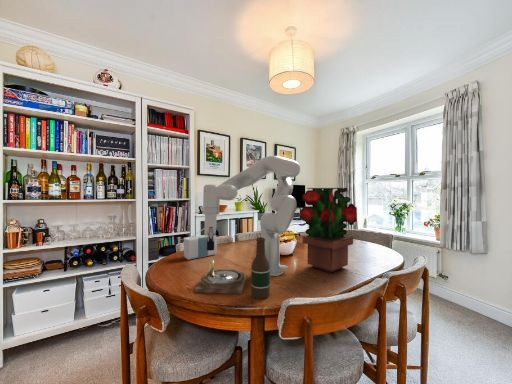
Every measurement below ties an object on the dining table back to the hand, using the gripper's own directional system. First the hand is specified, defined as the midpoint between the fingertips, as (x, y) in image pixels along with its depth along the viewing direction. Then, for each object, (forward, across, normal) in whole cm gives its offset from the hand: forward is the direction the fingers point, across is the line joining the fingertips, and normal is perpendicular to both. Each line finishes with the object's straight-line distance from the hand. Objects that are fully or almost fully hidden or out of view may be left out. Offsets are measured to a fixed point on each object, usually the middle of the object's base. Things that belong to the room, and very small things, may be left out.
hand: (210, 247), depth 113 cm
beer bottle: (+17, +16, +21) cm, 31 cm away
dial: (+15, +1, +6) cm, 16 cm away
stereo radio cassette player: (+17, -48, -6) cm, 51 cm away
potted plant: (+16, -11, +65) cm, 68 cm away
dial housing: (+17, +1, +6) cm, 18 cm away
